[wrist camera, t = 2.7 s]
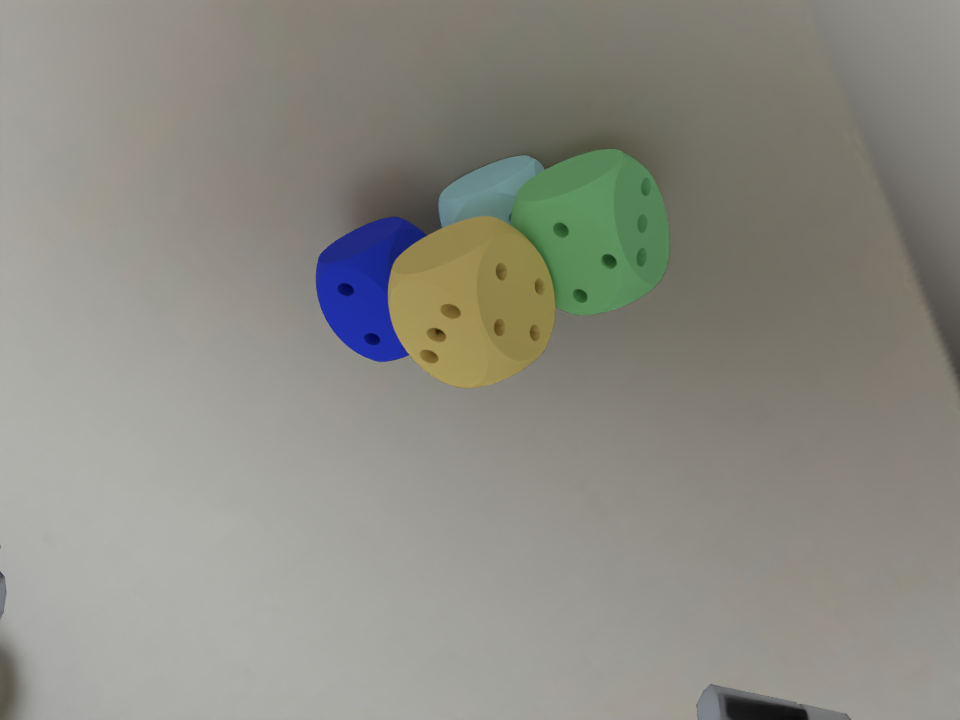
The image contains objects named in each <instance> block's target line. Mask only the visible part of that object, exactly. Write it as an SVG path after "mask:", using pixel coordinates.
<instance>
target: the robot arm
mask: <svg viewBox="0 0 960 720" xmlns="http://www.w3.org/2000/svg"><path fill="white" fill-rule="evenodd" d="M0 548H1V547H0ZM5 599H6V585H5V577H4V575H3V574H2V573H1V572H0V619H1V617H2V614H3V612H4V606H5ZM696 706H697V717H698V720H851V719H850V718H849V717H848V715H847V714H845V713H840V712H836V711H831V710H827V709H822V708H817V707H813V706H808V705H804V704H797V703H796V702H792V701H787V700H783V699H778V698H773V697H769V696H764V695H759V694H755V693H750V692H745V691H741V690H736V689H731V688H727V687H722V686H717V685H713V684H710V685H709V686H708V687H707V688H706V689H705V690H704V691H703V693H702V695H701V697H700V699H699V701H698V703H697V705H696Z"/></svg>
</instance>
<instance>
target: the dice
mask: <svg viewBox="0 0 960 720" xmlns="http://www.w3.org/2000/svg"><path fill="white" fill-rule="evenodd" d="M438 208H439V216H440V221H441V225H442V229H439V230H437V231H435V232H433V233H431V234H429V235H426V234H425V233H424V232H423V231H421V230H420V229H419V228H417V227H416V226H415V225H413V224H412V223H410V222H408V221H406V220H404V219H402V218H399V217H389V218H384V219H380V220H377V221H374V222H372V223H369V224H366V225H364V226H362V227H360V228H358V229H355V230H353V231H352V232H350V233H348V234H346V235H344V236H343V237H341V238H339V239H338V240H336V241H335V242H334V243H332V244H331V245H330V246H328V247H327V248H326V249H325V250H324V251H323V252H322V253H321V254H320V256H319V258H318V263H317V269H316V289H317V295H318V299H319V303H320V306H321V309H322V311H323V314H324V316H325V318H326V320H327V322H328V323H329V325H330V327H331V328H332V329H333V331H334V332H335V333H336V335H337V336H338V337H339V338H340V339H341V340H342V341H343V342H344V343H345V344H346V345H347V346H348V347H350V348H351V349H352V350H354V351H355V352H357V353H358V354H360V355H362V356H364V357H367V358H369V359H372V360H374V361H378V362H386V361H392V360H396V359H400V358H403V357H405V356H408V355H410V356H411V357H412V358H413V360H414V361H415V362H416V363H417V364H418V365H419V366H420V367H422V368H423V369H424V370H425V371H426V372H427V373H429V374H430V375H432V376H433V377H435V378H436V379H438V380H440V381H442V382H444V383H446V384H449V385H452V386H455V387H459V388H477V387H483V386H487V385H490V384H494V383H496V382H499V381H502V380H504V379H506V378H508V377H511V376H513V375H514V374H516V373H518V372H520V371H521V370H523V369H524V368H526V367H527V366H529V365H530V364H531V363H532V362H534V361H535V360H536V359H537V358H538V357H539V356H540V355H541V354H542V352H543V351H544V350H545V348H546V346H547V344H548V342H549V339H550V337H551V334H552V331H553V326H554V321H555V307H557V308H559V309H561V310H563V311H565V312H568V313H571V314H575V315H593V314H599V313H604V312H608V311H611V310H614V309H617V308H620V307H622V306H625V305H627V304H629V303H631V302H633V301H635V300H637V299H639V298H640V297H642V296H644V295H645V294H646V293H648V292H649V291H650V290H652V289H653V288H654V287H655V286H656V285H657V284H658V283H659V281H660V280H661V278H662V277H663V275H664V273H665V270H666V268H667V264H668V259H669V251H670V234H669V225H668V218H667V213H666V209H665V205H664V202H663V199H662V196H661V193H660V191H659V188H658V186H657V184H656V182H655V180H654V179H653V177H652V175H651V174H650V173H649V171H648V170H647V169H646V168H645V167H644V166H643V165H642V164H641V163H639V162H638V161H637V160H636V159H634V158H633V157H631V156H629V155H628V154H626V153H624V152H622V151H620V150H617V149H602V150H596V151H591V152H588V153H584V154H581V155H578V156H575V157H572V158H569V159H567V160H564V161H562V162H560V163H557V164H555V165H553V166H551V167H549V168H547V169H544V167H543V166H542V164H541V163H540V162H539V161H538V160H536V159H534V158H532V157H530V156H526V155H521V156H514V157H510V158H506V159H503V160H499V161H497V162H494V163H491V164H488V165H486V166H484V167H481V168H479V169H477V170H475V171H473V172H470V173H469V174H467V175H465V176H463V177H461V178H459V179H458V180H456V181H455V182H453V183H452V184H450V185H449V186H448V187H446V188H445V189H444V190H443V191H442V193H441V195H440V198H439V203H438Z"/></svg>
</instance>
